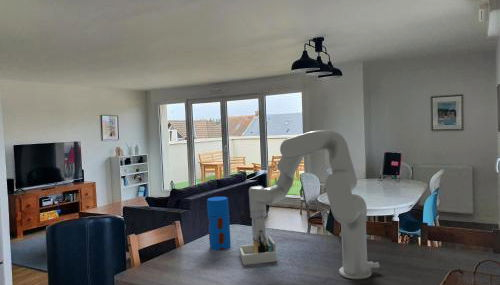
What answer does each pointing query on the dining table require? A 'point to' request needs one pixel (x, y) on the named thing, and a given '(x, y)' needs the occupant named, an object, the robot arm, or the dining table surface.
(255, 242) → the amber jar
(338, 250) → the dining table surface
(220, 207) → the thermos
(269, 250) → the plate
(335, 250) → the dining table surface
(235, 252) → the dining table surface
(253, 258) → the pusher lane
